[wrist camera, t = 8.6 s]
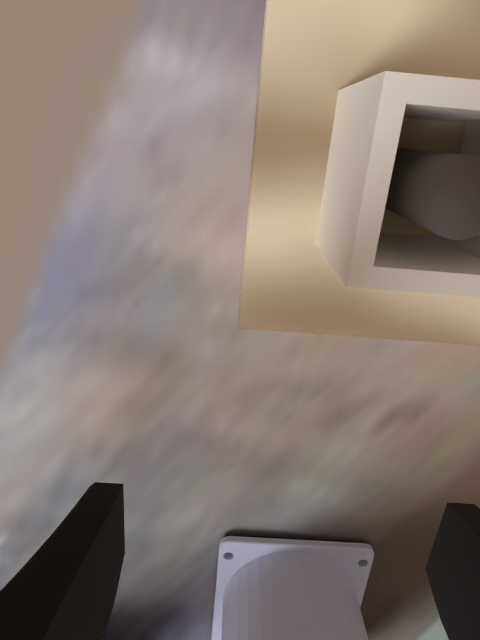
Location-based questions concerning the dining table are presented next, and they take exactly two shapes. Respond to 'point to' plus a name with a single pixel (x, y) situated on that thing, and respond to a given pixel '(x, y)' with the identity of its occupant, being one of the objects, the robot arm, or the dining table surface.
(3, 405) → the dining table surface
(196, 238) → the dining table surface
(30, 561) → the robot arm
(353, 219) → the hollow square tube
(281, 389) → the dining table surface
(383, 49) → the roll holder
